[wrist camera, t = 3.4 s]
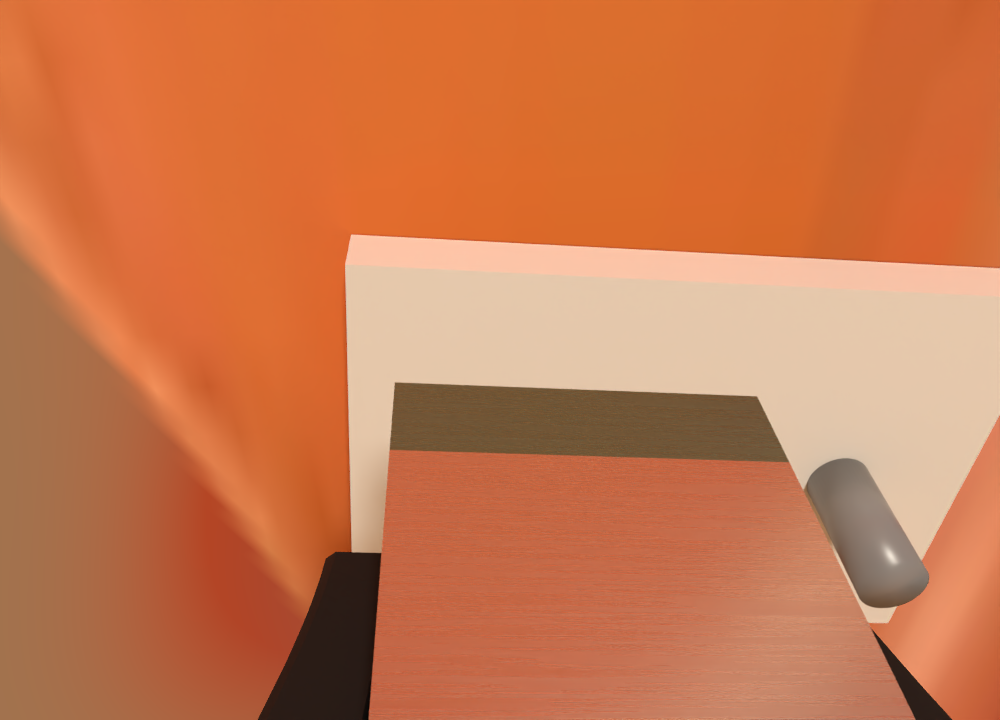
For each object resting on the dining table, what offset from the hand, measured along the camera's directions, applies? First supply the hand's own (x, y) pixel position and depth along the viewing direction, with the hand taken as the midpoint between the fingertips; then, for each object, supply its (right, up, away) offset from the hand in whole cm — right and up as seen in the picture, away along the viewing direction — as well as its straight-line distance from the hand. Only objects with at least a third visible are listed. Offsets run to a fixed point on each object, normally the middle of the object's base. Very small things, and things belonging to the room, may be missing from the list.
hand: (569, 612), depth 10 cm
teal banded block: (0, +1, +1) cm, 2 cm away
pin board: (+3, +1, +10) cm, 10 cm away
